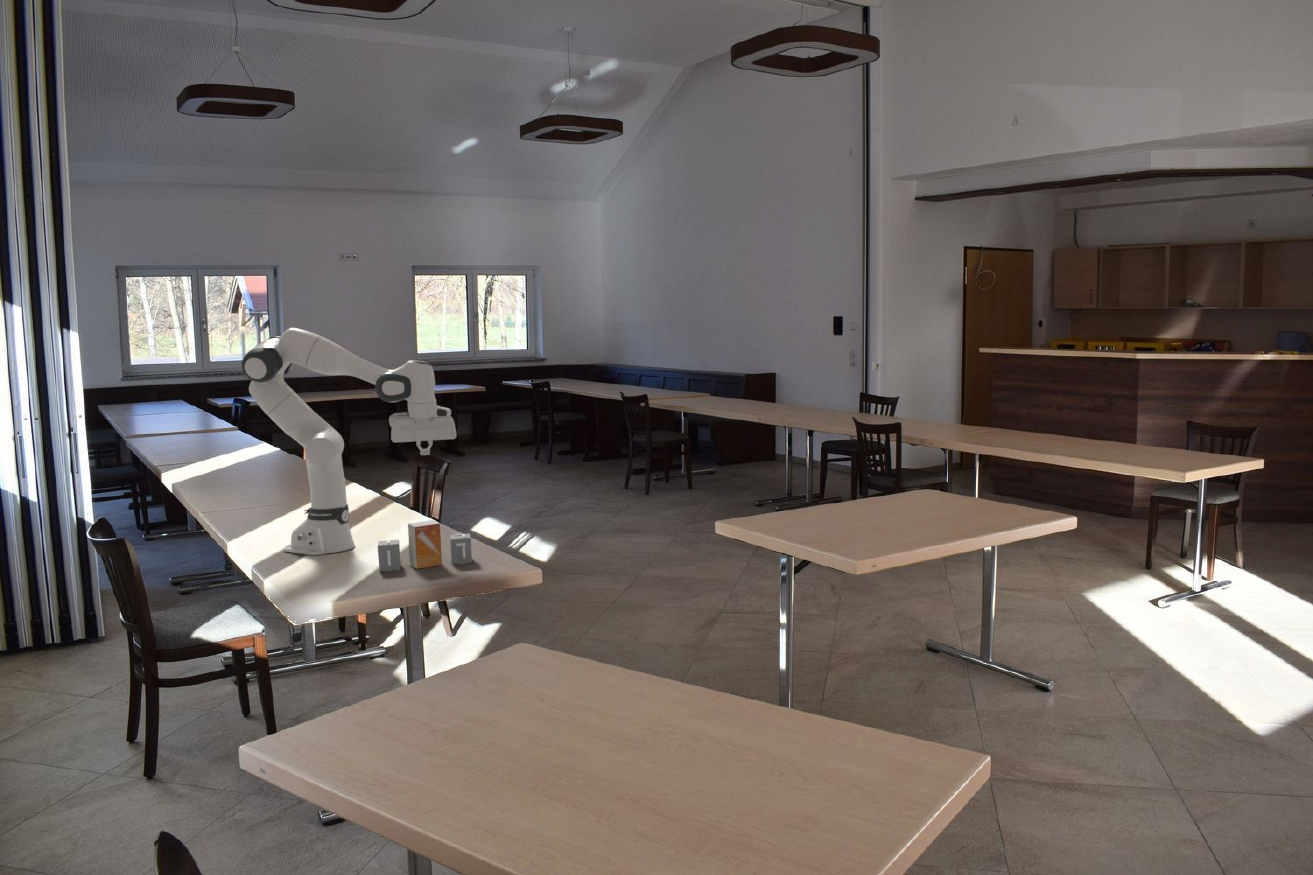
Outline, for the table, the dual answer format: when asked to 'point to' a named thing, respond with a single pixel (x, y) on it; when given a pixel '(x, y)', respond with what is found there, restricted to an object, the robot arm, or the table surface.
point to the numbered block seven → (460, 548)
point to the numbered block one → (389, 555)
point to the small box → (424, 544)
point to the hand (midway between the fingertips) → (425, 454)
